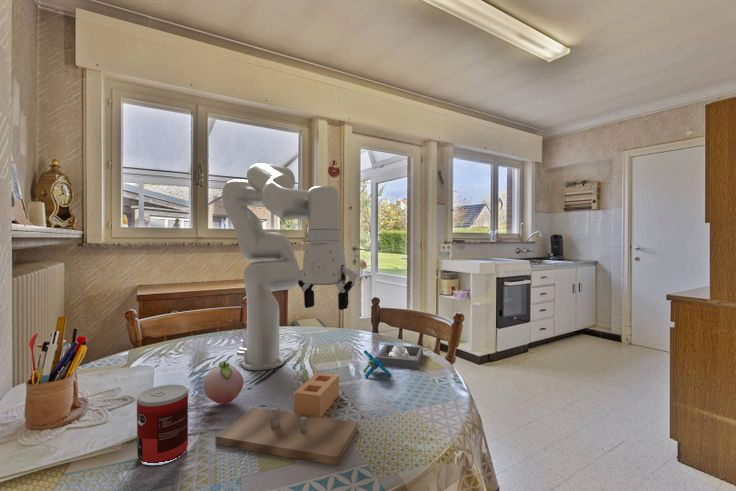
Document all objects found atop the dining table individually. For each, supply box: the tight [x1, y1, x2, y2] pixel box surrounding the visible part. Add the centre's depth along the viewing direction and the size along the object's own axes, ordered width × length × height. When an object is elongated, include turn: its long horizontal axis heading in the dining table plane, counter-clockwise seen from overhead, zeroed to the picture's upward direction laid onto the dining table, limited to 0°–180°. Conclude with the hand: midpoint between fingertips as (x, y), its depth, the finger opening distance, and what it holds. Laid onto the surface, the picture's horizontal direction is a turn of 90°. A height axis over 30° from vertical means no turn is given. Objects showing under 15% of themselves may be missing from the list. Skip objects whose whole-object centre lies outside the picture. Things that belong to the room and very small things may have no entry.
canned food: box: [136, 384, 189, 463], centre depth 64 cm, size 8×8×11 cm
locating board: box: [215, 406, 359, 467], centre depth 69 cm, size 24×12×5 cm, turn 75°
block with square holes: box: [293, 372, 340, 417], centre depth 83 cm, size 12×6×5 cm, turn 165°
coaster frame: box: [374, 343, 424, 370], centre depth 114 cm, size 13×14×2 cm
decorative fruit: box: [202, 361, 245, 405], centre depth 83 cm, size 9×8×10 cm
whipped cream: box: [387, 344, 410, 359], centre depth 115 cm, size 8×7×5 cm
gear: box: [363, 349, 393, 379], centre depth 100 cm, size 11×6×10 cm
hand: (326, 308), depth 87 cm, fingers open, 9 cm apart
